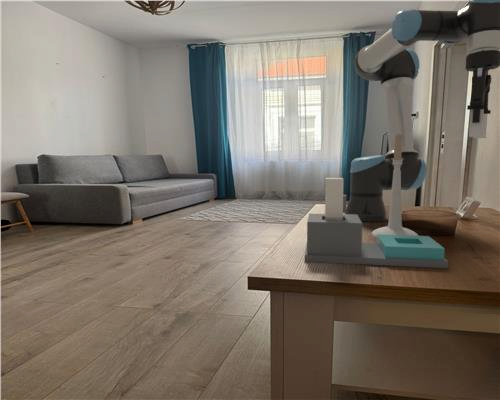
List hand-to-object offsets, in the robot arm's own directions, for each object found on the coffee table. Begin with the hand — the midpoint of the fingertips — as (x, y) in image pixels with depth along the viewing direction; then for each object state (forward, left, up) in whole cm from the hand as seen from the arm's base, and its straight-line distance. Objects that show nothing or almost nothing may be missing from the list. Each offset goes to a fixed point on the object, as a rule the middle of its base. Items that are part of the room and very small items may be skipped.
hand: (477, 137), depth 95 cm
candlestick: (-17, -9, -28) cm, 34 cm away
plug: (-13, -39, -22) cm, 46 cm away
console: (-7, -33, -28) cm, 44 cm away
